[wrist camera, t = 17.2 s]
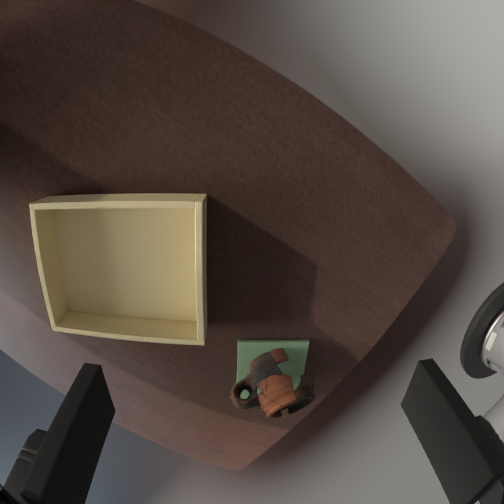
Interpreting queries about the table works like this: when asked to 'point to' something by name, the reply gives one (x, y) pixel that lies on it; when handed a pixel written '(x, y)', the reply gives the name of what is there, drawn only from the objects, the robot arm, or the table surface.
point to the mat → (291, 367)
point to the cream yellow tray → (124, 265)
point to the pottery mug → (272, 387)
